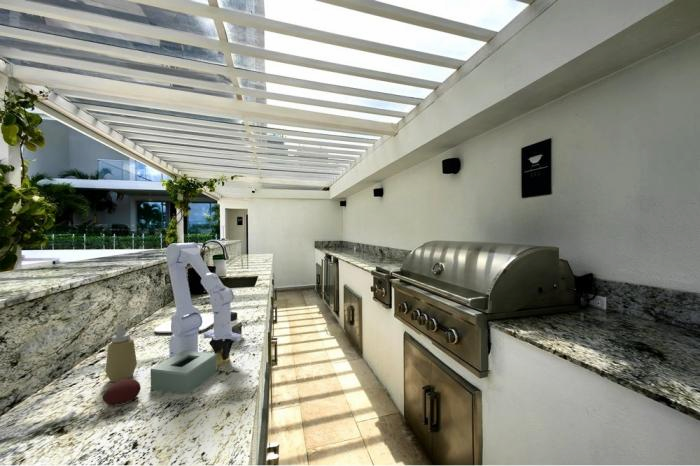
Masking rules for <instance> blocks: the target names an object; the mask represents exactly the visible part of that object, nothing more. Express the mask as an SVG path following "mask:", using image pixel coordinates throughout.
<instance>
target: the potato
mask: <svg viewBox="0 0 700 466" xmlns="http://www.w3.org/2000/svg"><path fill="white" fill-rule="evenodd" d="M140 391H141V384H140V382H139V381H138V380H136V379H133V378H128V379H124V380H121V381H118V382H113V383H112V384H111V385H109V387H108V388H106V389H105V390H104V392H103V395H102V402H104V403H105V404H106V405H108V406H120V405H124V404H127V403H129V402H131V401H132V400H134V399H135V398H137V397H138V395H139V394H140Z"/></svg>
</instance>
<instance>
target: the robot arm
mask: <svg viewBox="0 0 700 466" xmlns="http://www.w3.org/2000/svg"><path fill="white" fill-rule="evenodd" d="M164 253H165V254H164V255H165V258H166V259H165V260H166V263H167V267H168V271H169V273H168V274H169V278H170V282H171V283H170V284H171V287H172V293H173V299H174V304H175V308H176V309H175V310H176V311H175V312H174V313H173V314H171V316H170V320H171V331H172V333H171V336H170V338H169V341H168V345H169V346H168V350H169V351H168V352H169V353H168V354H169V355H168V356H167V359H169V358H171V357H173V356H175V355H177V354H178V353H180V352H182V351H184V350H186V351H195V352H204V350H202V349H199V332H198V331H199V327H201V325H202V323H203V320H202V317H201V315H202V314H201V312H200V310H199V308H197V307H195V306H193V301H192V297H191V292H190V286H189V282H188V277H187V271H186V267H187V265H188V264H189V265H190V266H191V267H192V268H193V269H194V270H195V272H196V273H197V274H198V275H199V276H200V278H201V279H200V284H201V285H202V286H203V288H204V290H205V291H206V292H207V294H208V295H209V297H210V298H208V299H209V300H208V301H209V303H210V305H211V310H212V313H213V315H214V323H213V331H205V332H204V333H203V334H202V335H203V337H202V338H203V339H205V340H206V339H211V340H210V341H209V342H208V344H209V345H210V347H211V348H212V350H213V353H216V352H217V351H219V350H220V349H222V350H223V360H226V359H228V358H229V353H230V352H231V350H232V347H233V345H234V343H235V342H240V341H241V340H242V336H241V334H237V333H233V332H231V314H230V311H231V303H232V302H233V301H234V299H235V296H234V291H233V289H232V288H230V287H227V286H226V285H224V284H223V282H222V281H221V279H220V278H219V276H218V275H217V273H215V272H211V271H210V270H209V268H208V265H206V263H205V260H204V259H203V257H202V256H201V248H200V247H199V245H198V244H197V243H196V242H192V241H191V242H181V243H169V245H168V246H167V248H166V250H164ZM188 314H189V315H188ZM185 315H188V316H185ZM183 316H185V317H183ZM223 339H224V340H225V341H223Z"/></svg>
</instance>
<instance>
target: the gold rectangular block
mask: <svg viewBox="0 0 700 466" xmlns="http://www.w3.org/2000/svg"><path fill="white" fill-rule="evenodd" d="M215 354H216V367H218V366H219V367H222V366H223V365H224V364H226V363H227V362H229V361H230V360H231V359H230V358H231V357H230V355H231V354H230V353H229V358H228V359H226V360H223V350H222V349H220V350H219V351H217V352H216V353H215Z"/></svg>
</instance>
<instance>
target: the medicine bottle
mask: <svg viewBox="0 0 700 466" xmlns="http://www.w3.org/2000/svg"><path fill="white" fill-rule="evenodd" d="M230 314H231V332H233V333H237V334H241V337H243V335H242V334H243V331H242V329H243V328H242V327H243V326H242V325H243V323H242V321H241V320H238V312H237V311H234V310H230ZM223 341H225V340H224V339H223Z"/></svg>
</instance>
